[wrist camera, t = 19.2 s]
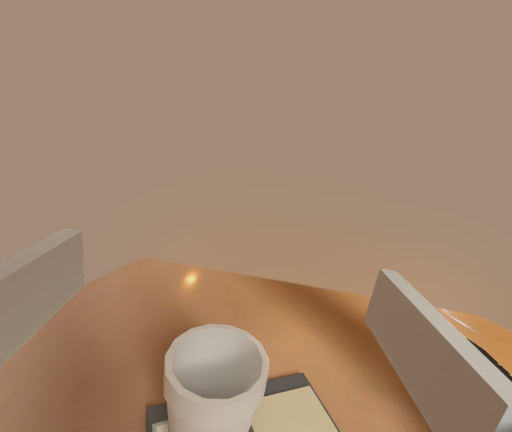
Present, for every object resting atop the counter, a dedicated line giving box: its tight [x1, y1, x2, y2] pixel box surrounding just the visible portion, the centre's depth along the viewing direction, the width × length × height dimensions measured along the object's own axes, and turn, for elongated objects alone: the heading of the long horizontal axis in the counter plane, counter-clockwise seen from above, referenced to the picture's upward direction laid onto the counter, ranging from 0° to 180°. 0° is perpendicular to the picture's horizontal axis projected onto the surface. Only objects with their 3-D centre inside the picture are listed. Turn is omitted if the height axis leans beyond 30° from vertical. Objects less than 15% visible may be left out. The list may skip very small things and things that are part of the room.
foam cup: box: [163, 324, 269, 432], centre depth 28 cm, size 10×9×13 cm
